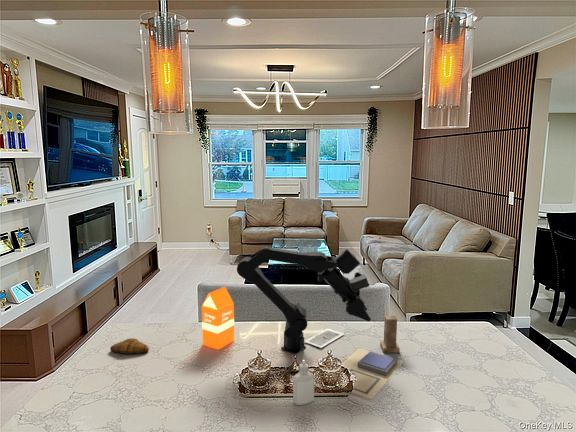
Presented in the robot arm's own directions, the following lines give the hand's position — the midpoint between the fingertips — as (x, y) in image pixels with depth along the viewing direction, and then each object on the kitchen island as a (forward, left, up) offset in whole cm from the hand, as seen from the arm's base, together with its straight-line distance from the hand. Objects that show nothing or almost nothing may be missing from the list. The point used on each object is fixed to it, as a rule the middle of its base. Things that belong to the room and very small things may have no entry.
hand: (367, 315), depth 138 cm
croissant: (-67, -49, -13) cm, 84 cm away
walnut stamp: (+6, +5, -13) cm, 15 cm away
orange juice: (-47, -26, -13) cm, 55 cm away
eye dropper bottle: (-2, -38, -13) cm, 40 cm away
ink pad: (+7, -8, -13) cm, 17 cm away
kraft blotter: (+5, -13, -13) cm, 19 cm away
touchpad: (-17, -1, -14) cm, 21 cm away
